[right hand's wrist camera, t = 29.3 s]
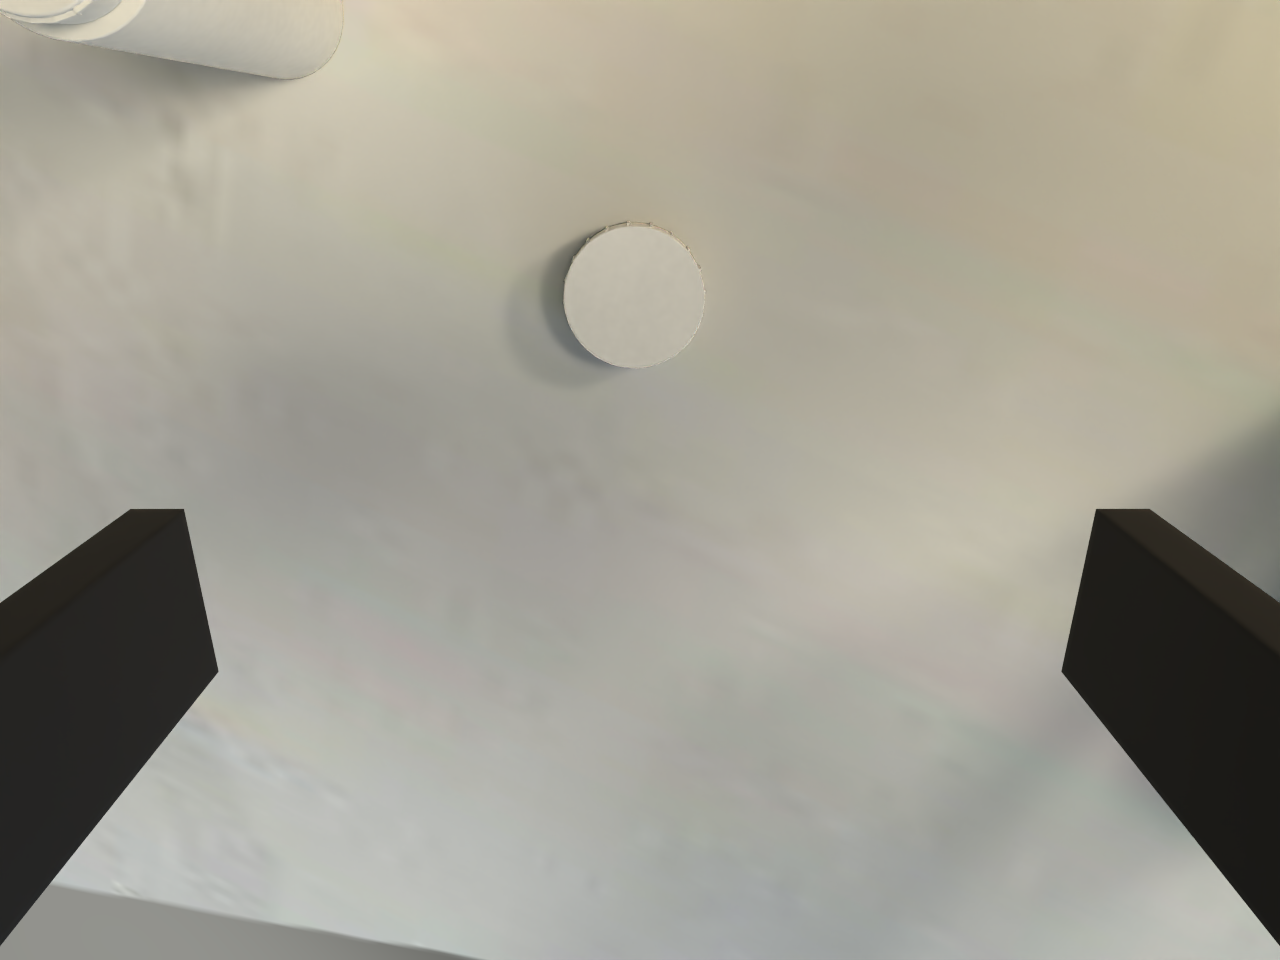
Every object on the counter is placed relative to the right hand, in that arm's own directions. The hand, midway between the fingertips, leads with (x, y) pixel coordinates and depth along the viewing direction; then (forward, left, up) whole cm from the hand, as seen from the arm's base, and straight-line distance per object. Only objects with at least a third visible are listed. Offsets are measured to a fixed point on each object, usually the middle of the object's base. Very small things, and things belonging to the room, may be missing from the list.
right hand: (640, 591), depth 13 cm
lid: (0, 0, -25) cm, 25 cm away
